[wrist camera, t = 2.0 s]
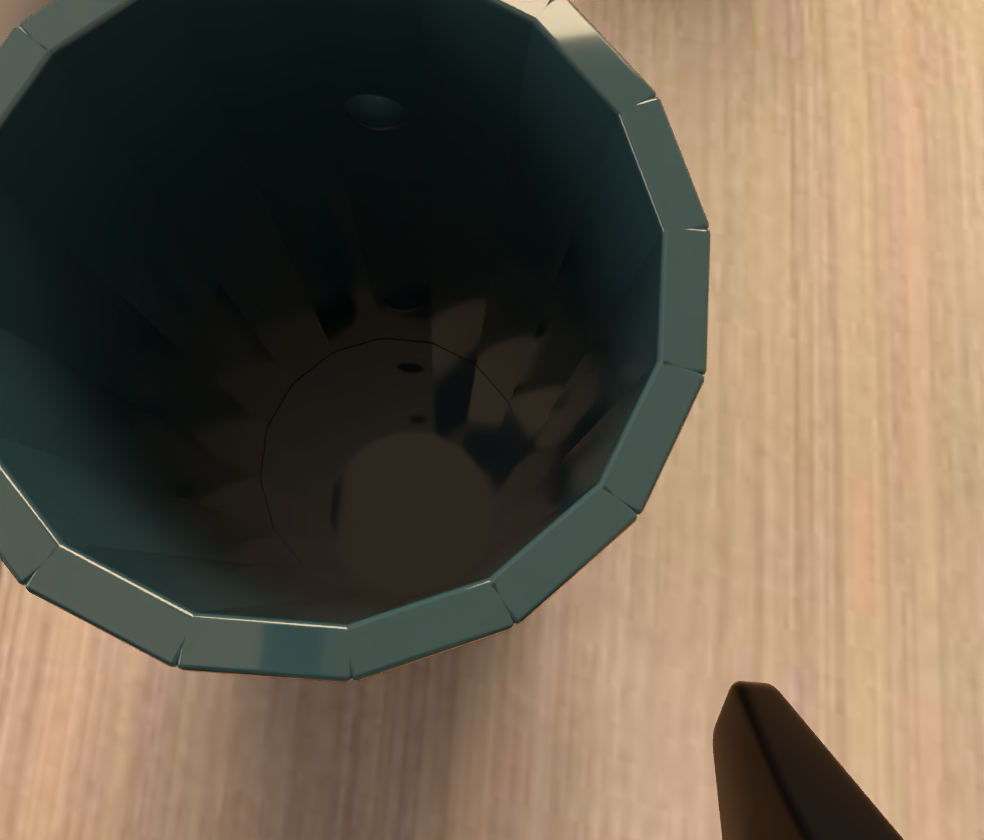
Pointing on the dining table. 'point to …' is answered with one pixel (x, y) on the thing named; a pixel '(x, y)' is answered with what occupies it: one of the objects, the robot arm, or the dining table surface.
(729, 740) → the robot arm
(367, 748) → the dining table surface
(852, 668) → the dining table surface
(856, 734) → the dining table surface
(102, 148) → the teal mug
